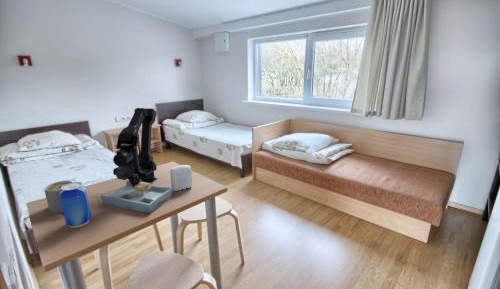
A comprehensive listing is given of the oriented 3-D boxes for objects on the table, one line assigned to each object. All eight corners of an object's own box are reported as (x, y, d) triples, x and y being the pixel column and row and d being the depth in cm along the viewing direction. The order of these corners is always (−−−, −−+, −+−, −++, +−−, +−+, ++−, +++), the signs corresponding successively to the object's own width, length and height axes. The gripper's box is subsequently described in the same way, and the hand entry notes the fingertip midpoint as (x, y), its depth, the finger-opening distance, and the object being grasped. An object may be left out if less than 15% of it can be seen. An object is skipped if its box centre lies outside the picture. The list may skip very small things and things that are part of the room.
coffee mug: (46, 206, 110) (41, 186, 107) (73, 198, 117) (69, 178, 114) (54, 218, 101) (49, 196, 98) (83, 208, 108) (78, 187, 105)
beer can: (64, 231, 94) (55, 192, 89) (69, 219, 101) (61, 183, 96) (90, 226, 97) (82, 188, 92) (93, 214, 104) (86, 179, 100)
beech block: (142, 189, 122) (141, 181, 121) (151, 190, 120) (150, 183, 119) (134, 193, 117) (133, 186, 116) (143, 195, 116) (142, 187, 114)
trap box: (128, 187, 127) (127, 180, 126) (172, 195, 120) (172, 188, 119) (102, 203, 113) (100, 195, 112) (150, 213, 105) (149, 205, 104)
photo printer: (191, 184, 131) (189, 162, 128) (193, 188, 128) (191, 165, 124) (170, 188, 127) (168, 165, 123) (172, 192, 123) (170, 169, 119)
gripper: (100, 161, 111) (106, 193, 115) (135, 167, 105) (139, 200, 110) (120, 153, 121) (124, 183, 125) (153, 158, 115) (156, 189, 120)
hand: (135, 189), depth 120 cm, fingers closed
